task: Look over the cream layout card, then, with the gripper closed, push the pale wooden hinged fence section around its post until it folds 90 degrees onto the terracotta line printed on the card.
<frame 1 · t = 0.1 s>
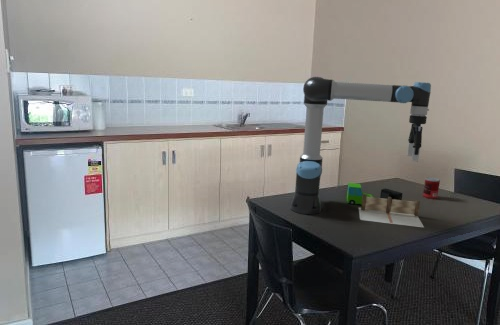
hand: (412, 158, 192), 28 cm above the table, tool pointing down, fingers open, 13 cm apart
layout card: (389, 217, 188), on the table
toy car: (359, 204, 208), on the table
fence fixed: (375, 212, 195), resting on layout card
fence gate: (405, 206, 192), point 5 cm above the table, hinge at 0.0°
digital camera: (389, 203, 212), on the table
canned food: (429, 197, 228), on the table
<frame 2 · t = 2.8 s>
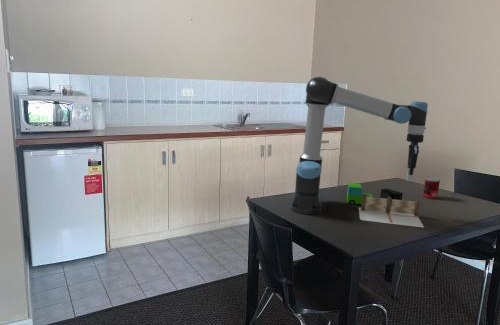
hand: (409, 180, 195), 17 cm above the table, tool pointing down, fingers closed
nothing on the table moved.
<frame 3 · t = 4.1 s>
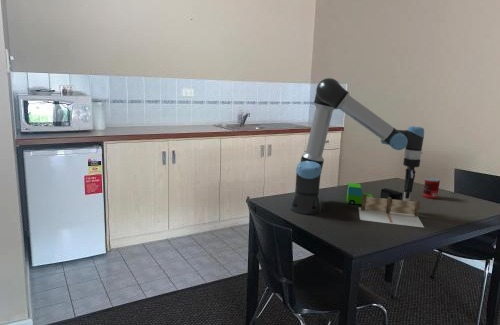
hand: (405, 203, 197), 4 cm above the table, tool pointing down, fingers closed
nothing on the table moved.
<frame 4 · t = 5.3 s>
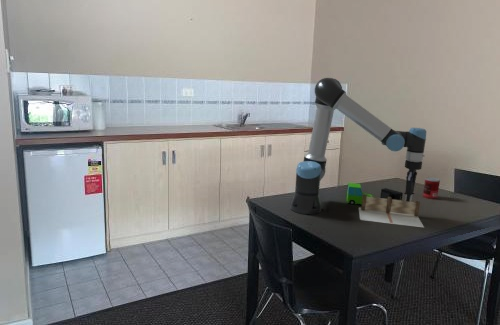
hand: (407, 206, 192), 4 cm above the table, tool pointing down, fingers closed
fence gate: (405, 207, 191), point 5 cm above the table, hinge at -2.3°, touching gripper
everything else where it was.
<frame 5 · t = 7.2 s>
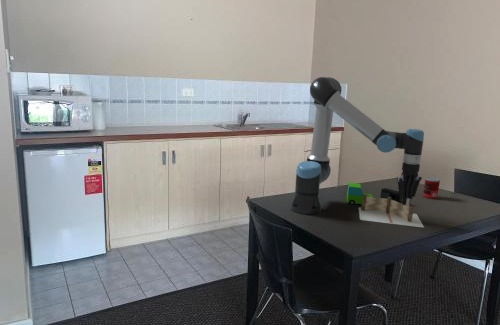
hand: (404, 210, 186), 4 cm above the table, tool pointing down, fingers closed
fence gate: (401, 209, 187), point 5 cm above the table, hinge at -48.8°, touching gripper
everything else where it was.
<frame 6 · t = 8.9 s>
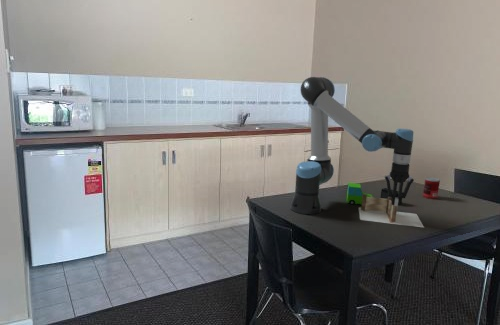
hand: (394, 211, 184), 4 cm above the table, tool pointing down, fingers closed
fence gate: (391, 210, 186), point 5 cm above the table, hinge at -86.0°, touching gripper
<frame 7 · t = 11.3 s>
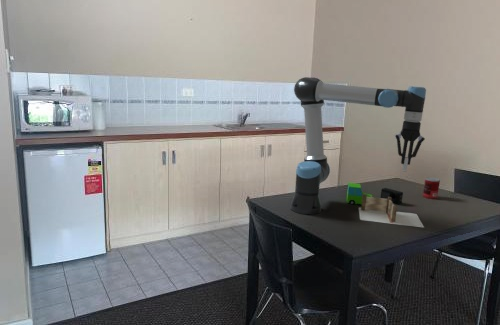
hand: (404, 171, 184), 23 cm above the table, tool pointing down, fingers closed
fence gate: (391, 210, 186), point 5 cm above the table, hinge at -86.1°
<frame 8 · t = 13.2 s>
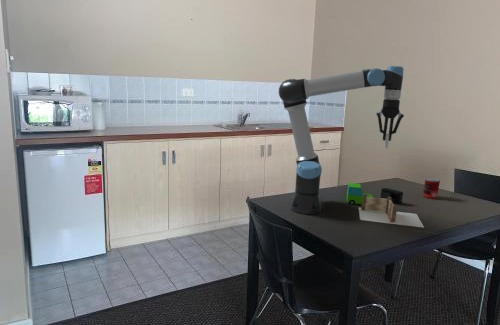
hand: (385, 147, 194), 32 cm above the table, tool pointing down, fingers closed
at the end: fence gate at -86° (first picture: +0°) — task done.
